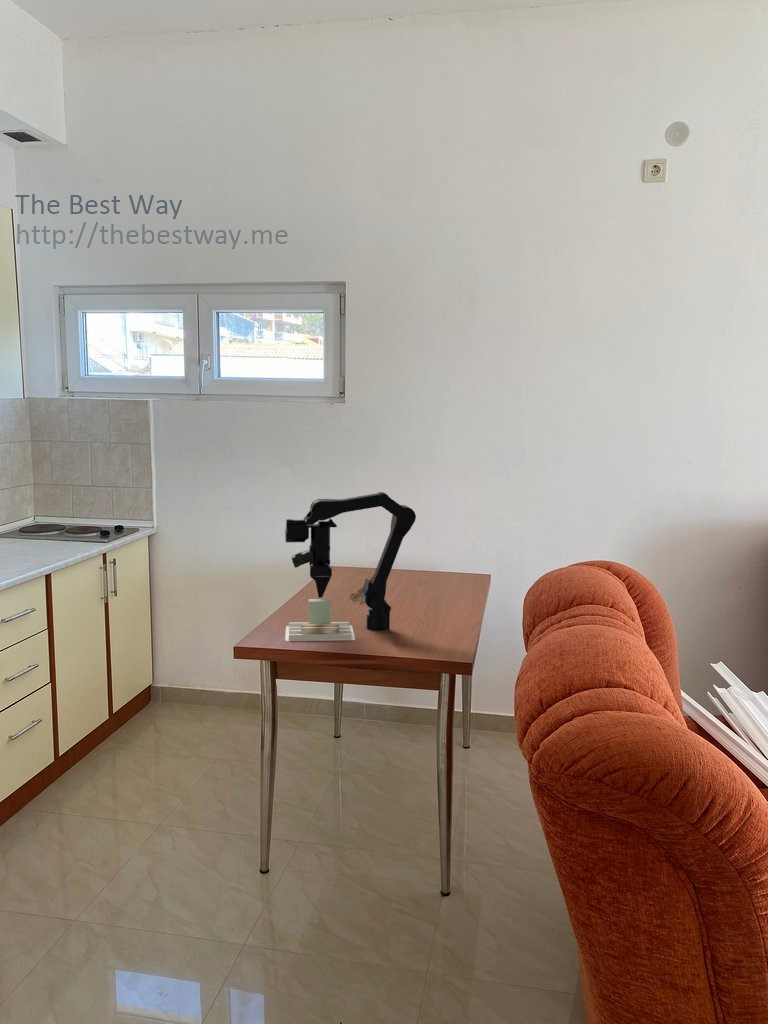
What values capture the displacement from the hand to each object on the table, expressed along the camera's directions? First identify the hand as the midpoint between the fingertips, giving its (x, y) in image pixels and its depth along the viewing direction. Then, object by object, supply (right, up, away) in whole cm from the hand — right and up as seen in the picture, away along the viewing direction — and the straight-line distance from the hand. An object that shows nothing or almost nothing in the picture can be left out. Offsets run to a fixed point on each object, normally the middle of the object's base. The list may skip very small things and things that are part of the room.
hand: (320, 593), depth 233 cm
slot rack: (0, -12, -2) cm, 13 cm away
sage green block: (0, -11, +1) cm, 11 cm away
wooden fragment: (+13, -6, +49) cm, 51 cm away
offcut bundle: (+1, -12, -6) cm, 14 cm away
